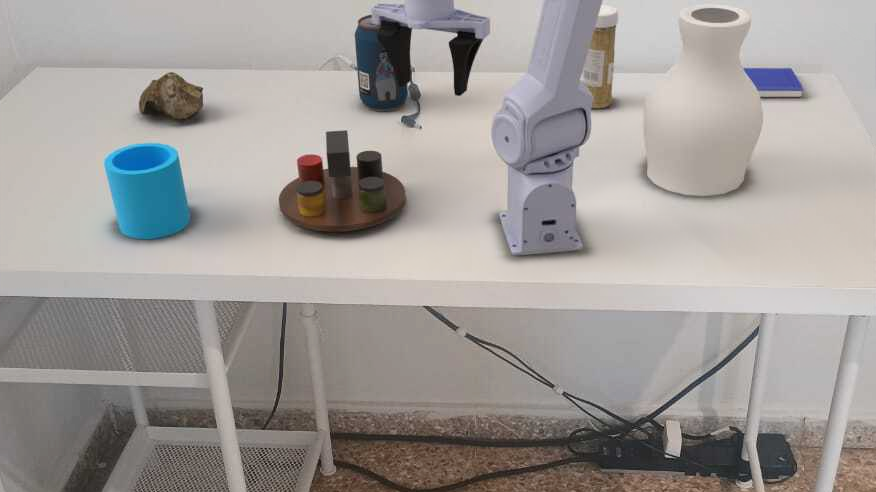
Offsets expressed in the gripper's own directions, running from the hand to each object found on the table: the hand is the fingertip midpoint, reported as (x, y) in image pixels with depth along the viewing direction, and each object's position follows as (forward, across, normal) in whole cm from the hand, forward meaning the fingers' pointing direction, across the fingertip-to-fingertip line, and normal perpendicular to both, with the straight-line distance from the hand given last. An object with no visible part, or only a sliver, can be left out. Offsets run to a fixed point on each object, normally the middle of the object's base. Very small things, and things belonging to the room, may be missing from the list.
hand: (432, 88), depth 126 cm
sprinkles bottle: (+11, +12, +27) cm, 32 cm away
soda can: (+11, -16, +16) cm, 24 cm away
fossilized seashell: (+11, -42, +1) cm, 43 cm away
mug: (+11, -25, -24) cm, 36 cm away
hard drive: (+11, +32, +42) cm, 53 cm away
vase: (+11, +31, +10) cm, 34 cm away
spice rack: (+10, -5, -14) cm, 19 cm away
